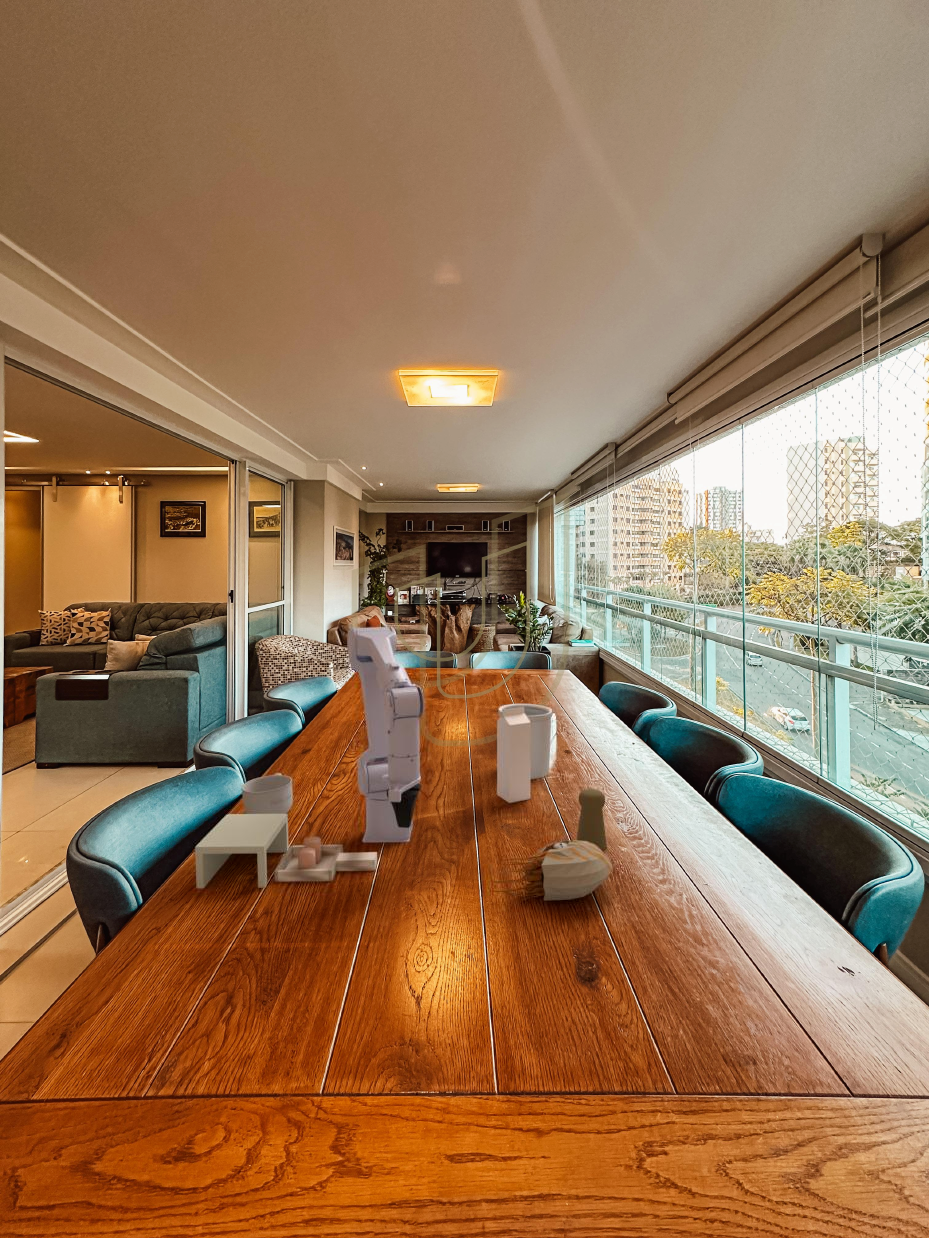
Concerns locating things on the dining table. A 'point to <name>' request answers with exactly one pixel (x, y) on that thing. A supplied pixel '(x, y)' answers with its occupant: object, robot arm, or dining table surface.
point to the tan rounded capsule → (316, 844)
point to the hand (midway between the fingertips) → (404, 826)
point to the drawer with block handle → (324, 864)
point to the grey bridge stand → (241, 843)
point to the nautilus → (562, 870)
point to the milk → (513, 755)
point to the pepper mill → (592, 818)
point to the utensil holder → (537, 736)
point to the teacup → (268, 795)
